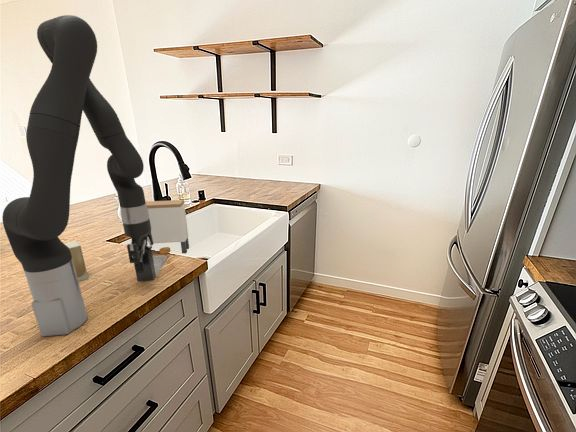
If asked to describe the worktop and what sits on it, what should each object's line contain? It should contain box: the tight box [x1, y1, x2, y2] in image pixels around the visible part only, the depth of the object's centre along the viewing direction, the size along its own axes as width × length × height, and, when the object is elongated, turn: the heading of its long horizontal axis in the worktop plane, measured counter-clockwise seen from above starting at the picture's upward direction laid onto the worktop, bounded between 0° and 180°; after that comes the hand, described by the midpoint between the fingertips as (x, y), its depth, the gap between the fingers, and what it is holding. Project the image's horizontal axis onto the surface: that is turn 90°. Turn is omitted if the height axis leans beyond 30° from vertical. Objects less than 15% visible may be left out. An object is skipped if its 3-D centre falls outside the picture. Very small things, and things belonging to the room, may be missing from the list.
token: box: [158, 246, 171, 255], centre depth 117 cm, size 4×4×1 cm
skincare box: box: [63, 239, 89, 283], centre depth 96 cm, size 6×4×12 cm
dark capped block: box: [133, 249, 168, 282], centre depth 102 cm, size 16×5×10 cm, turn 7°
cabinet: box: [145, 199, 190, 254], centre depth 114 cm, size 6×18×20 cm, turn 97°
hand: (145, 265), depth 96 cm, fingers open, 8 cm apart
